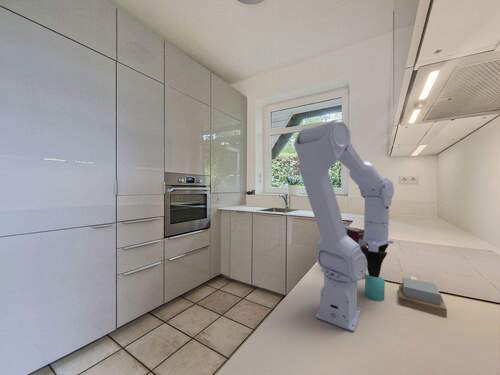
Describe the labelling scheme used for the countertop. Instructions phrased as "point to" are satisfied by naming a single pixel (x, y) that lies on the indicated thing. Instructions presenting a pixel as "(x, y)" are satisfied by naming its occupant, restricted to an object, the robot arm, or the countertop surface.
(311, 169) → the robot arm
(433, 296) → the tower top
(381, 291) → the cylinder
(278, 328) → the countertop surface
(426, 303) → the tower base
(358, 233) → the supplement box
